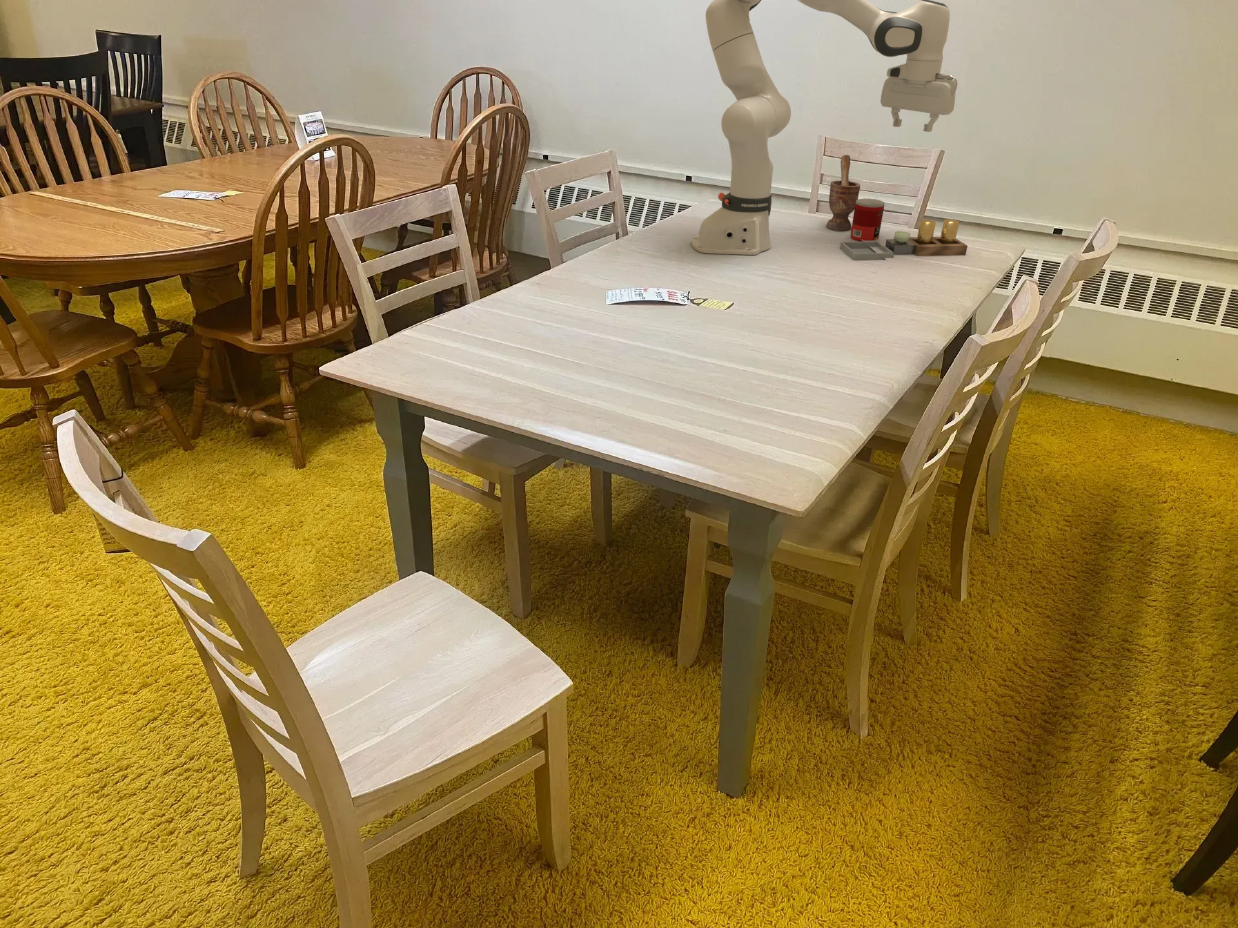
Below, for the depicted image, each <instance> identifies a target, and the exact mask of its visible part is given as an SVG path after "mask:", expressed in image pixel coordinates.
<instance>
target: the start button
mask: <svg viewBox="0 0 1238 928" xmlns="http://www.w3.org/2000/svg"><path fill="white" fill-rule="evenodd" d="M893 237H894V238H893V239H894V240H895V241H898V244H902V243H904V242H908V241H909V238H910V237H911V233H910V232H908V231H903V230H902V231H895V232H894V236H893Z"/></svg>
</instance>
